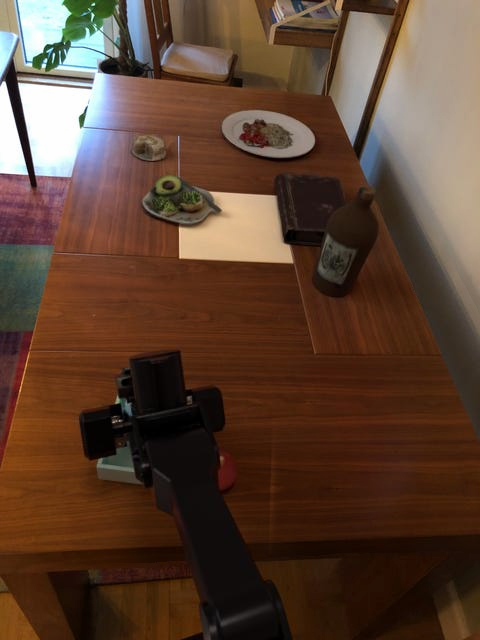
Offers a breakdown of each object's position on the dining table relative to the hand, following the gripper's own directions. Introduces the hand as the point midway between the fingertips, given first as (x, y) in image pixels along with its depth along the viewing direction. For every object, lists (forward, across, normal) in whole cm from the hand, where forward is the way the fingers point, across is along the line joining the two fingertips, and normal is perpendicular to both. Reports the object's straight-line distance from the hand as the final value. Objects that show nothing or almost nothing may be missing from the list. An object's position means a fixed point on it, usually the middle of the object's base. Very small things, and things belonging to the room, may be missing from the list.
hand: (146, 407), depth 71 cm
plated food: (+73, -57, -61) cm, 111 cm away
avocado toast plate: (+50, -20, -38) cm, 66 cm away
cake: (+68, -17, -57) cm, 91 cm away
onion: (0, -9, +14) cm, 16 cm away
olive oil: (+26, -48, -14) cm, 56 cm away
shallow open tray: (+5, 0, +8) cm, 9 cm away
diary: (+44, -54, -31) cm, 76 cm away
